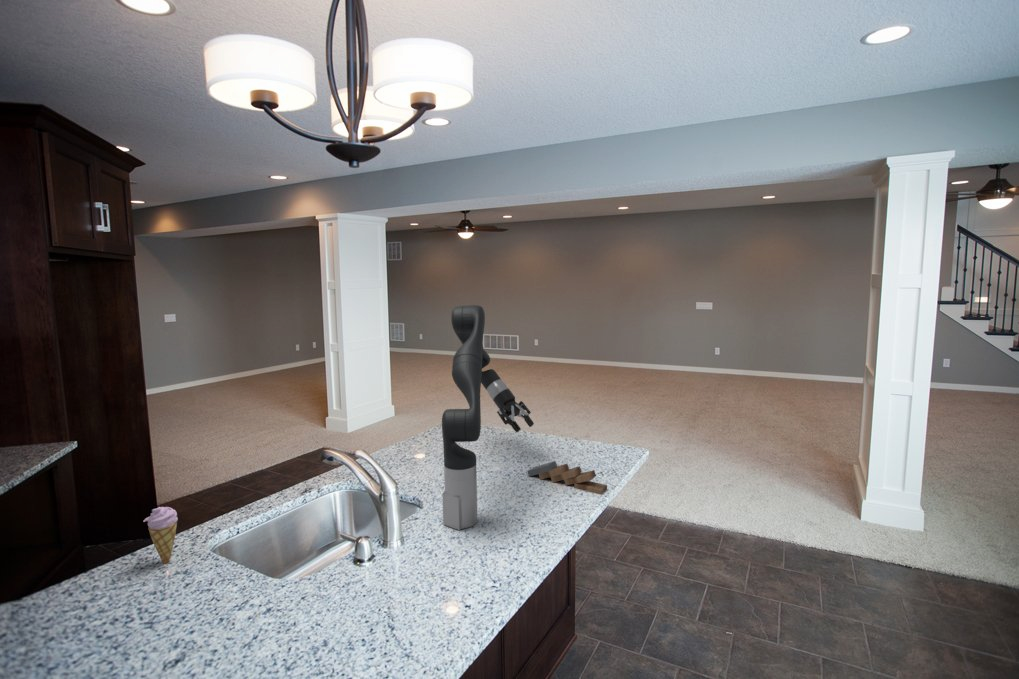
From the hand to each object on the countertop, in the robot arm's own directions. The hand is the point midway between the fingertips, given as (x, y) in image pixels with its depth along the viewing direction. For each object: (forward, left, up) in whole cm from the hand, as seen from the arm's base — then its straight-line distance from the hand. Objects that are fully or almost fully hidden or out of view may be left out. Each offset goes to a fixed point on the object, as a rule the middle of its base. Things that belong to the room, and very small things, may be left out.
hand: (525, 428), depth 189 cm
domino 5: (-4, -24, -14) cm, 29 cm away
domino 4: (-4, -20, -14) cm, 25 cm away
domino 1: (-5, -6, -14) cm, 16 cm away
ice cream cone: (-106, +38, -15) cm, 113 cm away
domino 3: (-5, -15, -14) cm, 21 cm away
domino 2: (-5, -11, -14) cm, 18 cm away
